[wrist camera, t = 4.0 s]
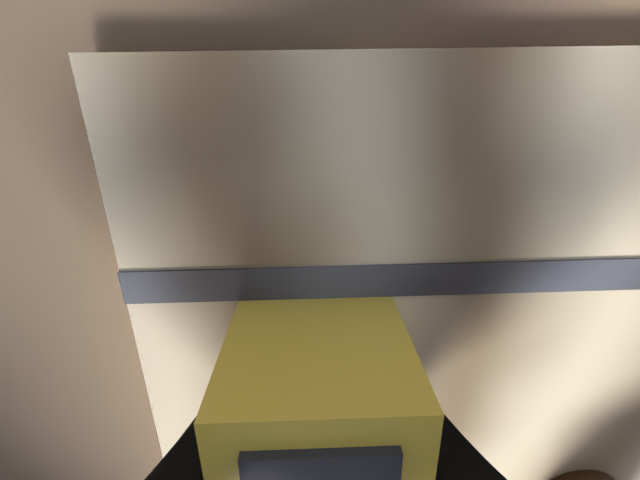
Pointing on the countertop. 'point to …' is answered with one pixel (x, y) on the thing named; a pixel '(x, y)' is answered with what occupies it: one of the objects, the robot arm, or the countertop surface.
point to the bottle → (584, 475)
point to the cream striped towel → (391, 223)
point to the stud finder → (318, 395)
